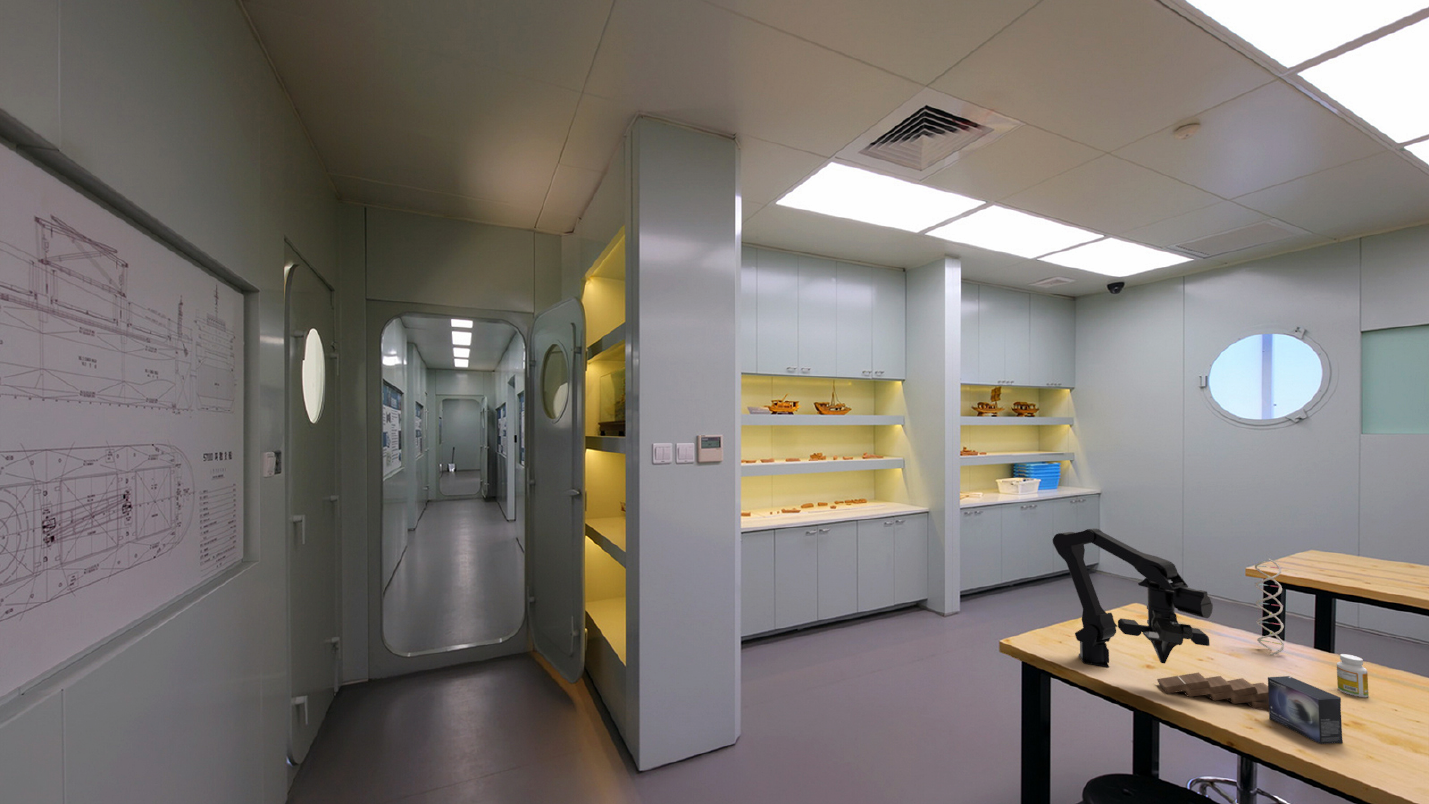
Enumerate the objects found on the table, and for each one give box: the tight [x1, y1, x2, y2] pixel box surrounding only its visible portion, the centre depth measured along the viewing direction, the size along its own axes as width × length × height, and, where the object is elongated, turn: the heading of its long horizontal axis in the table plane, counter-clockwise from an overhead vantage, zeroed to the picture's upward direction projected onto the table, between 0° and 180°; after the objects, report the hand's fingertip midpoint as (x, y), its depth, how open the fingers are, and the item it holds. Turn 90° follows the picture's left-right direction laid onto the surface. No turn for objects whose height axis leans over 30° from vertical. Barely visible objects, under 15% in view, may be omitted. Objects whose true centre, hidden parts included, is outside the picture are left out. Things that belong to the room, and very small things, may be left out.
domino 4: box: [1226, 682, 1269, 705], centre depth 137 cm, size 2×5×10 cm
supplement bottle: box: [1336, 653, 1369, 698], centre depth 143 cm, size 5×5×10 cm
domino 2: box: [1182, 675, 1233, 698], centre depth 140 cm, size 2×5×10 cm
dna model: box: [1254, 557, 1285, 656], centre depth 169 cm, size 7×6×30 cm
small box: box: [1267, 675, 1343, 745], centre depth 125 cm, size 11×6×10 cm, turn 5°
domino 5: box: [1246, 699, 1269, 711], centre depth 135 cm, size 2×5×10 cm
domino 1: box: [1156, 672, 1211, 694], centre depth 142 cm, size 2×5×10 cm
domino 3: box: [1205, 677, 1258, 701], centre depth 138 cm, size 2×5×10 cm
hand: (1162, 662), depth 144 cm, fingers closed
